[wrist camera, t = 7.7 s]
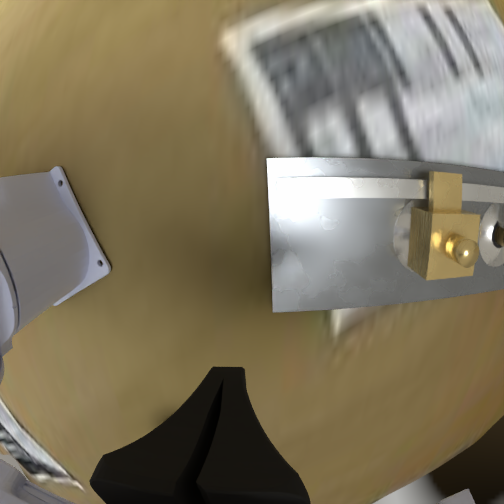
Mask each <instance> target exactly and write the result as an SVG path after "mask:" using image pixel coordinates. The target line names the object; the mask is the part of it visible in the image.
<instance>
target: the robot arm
mask: <svg viewBox="0 0 504 504" xmlns="http://www.w3.org/2000/svg"><path fill="white" fill-rule="evenodd" d="M61 181H63V185H61ZM100 260H101V261H102V262H103V265H101V263H100ZM110 271H111V266H110V264H109V262H108V261H107V259H106V257H105V255H104V254H103V252H102V250H101V248H100V246H99V244H98V242H97V241H96V239H95V237H94V235H93V233H92V231H91V229H90V227H89V225H88V223H87V221H86V219H85V217H84V215H83V213H82V211H81V209H80V207H79V205H78V203H77V201H76V198H75V196H74V194H73V192H72V190H71V187H70V185H69V183H68V181H67V178H66V176H65V174H64V171H63V169H62V167H60V166H55V167H54V168H53V169H52V170H51V171H50V172H41V173H32V174H23V175H15V176H8V177H1V178H0V384H1V382H2V379H3V375H4V362H3V358H2V357H3V356H4V355H5V354H6V353H7V352H8V351H9V350H11V349H12V337H13V335H15V334H16V333H17V332H19V331H20V330H21V329H22V328H24V327H25V326H26V325H27V324H29V323H30V322H31V321H32V320H34V319H35V318H36V317H38V316H39V315H40V314H41V313H43V312H44V311H45V310H47V309H48V308H49V307H51V306H52V305H54V306H57V305H58V304H60V303H61V302H63V301H65V300H66V299H68V298H69V297H71V296H73V295H74V294H76V293H77V292H79V291H81V290H82V289H84V288H86V287H87V286H89V285H91V284H92V283H94V282H96V281H97V280H99V279H101V278H102V277H104V276H106V275H107V274H109V273H110ZM90 485H91V487H92V488H93V490H94V491H95V492H96V493H97V494H98V495H99V496H100V498H101V499H102V500H103V501H104V502H105V503H106V504H310V498H309V495H308V492H307V490H306V488H305V486H304V484H303V482H302V480H301V478H300V477H299V475H298V473H297V472H296V471H295V470H294V469H293V468H292V467H291V466H290V465H289V464H288V463H287V462H286V461H285V459H284V458H283V457H282V456H281V455H280V454H279V452H278V451H277V450H276V448H275V447H274V445H273V444H272V443H271V441H270V440H269V438H268V437H267V435H266V433H265V432H264V430H263V428H262V427H261V425H260V423H259V421H258V419H257V417H256V415H255V412H254V410H253V408H252V405H251V402H250V400H249V396H248V393H247V390H246V379H245V369H244V368H243V367H212V368H211V370H210V371H209V373H208V374H207V375H206V377H205V378H204V380H203V381H202V382H201V384H200V385H199V386H198V387H197V389H196V390H195V391H194V392H193V394H192V395H191V396H190V397H189V398H188V399H187V400H186V402H185V403H184V404H183V405H182V406H181V407H180V408H179V409H178V410H177V411H176V412H175V413H174V414H173V415H172V416H170V417H169V418H168V419H167V420H166V421H165V422H163V423H162V424H161V425H159V426H158V427H157V428H155V429H154V430H153V431H151V432H150V433H148V434H147V435H145V436H144V437H142V438H140V439H138V440H136V441H135V442H133V443H131V444H129V445H127V446H125V447H123V448H120V449H118V450H115V451H113V452H110V453H108V454H105V455H103V456H102V458H101V459H100V461H99V463H98V464H97V466H96V468H95V471H94V473H93V475H92V477H91V479H90ZM0 504H75V503H73V502H71V501H68V500H66V499H64V498H62V497H59V496H57V495H55V494H53V493H51V492H49V491H47V490H45V489H43V488H41V487H39V486H37V485H35V484H34V483H32V482H30V481H28V480H26V478H25V477H24V476H23V474H22V473H21V472H20V471H18V470H17V469H16V468H15V467H13V466H11V465H10V464H8V463H6V462H5V461H3V460H2V459H0ZM437 504H475V503H474V500H473V498H472V496H471V494H470V491H469V489H465V490H463V491H461V492H459V493H457V494H454V495H453V496H450V497H447V498H446V499H443V500H441V501H440V502H438V503H437Z"/></svg>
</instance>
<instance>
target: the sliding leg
mask: <svg viewBox="0 0 504 504" xmlns="http://www.w3.org/2000/svg"><path fill="white" fill-rule="evenodd" d="M461 207H462V174H456V173H446V172H435V171H429V207H411V224H410V240H409V252H408V263H407V266H408V267H409V268H411V269H412V270H413V271H415V272H416V273H417V274H418V275H420V276H421V277H422V278H424V279H425V280H436V279H446V278H456V277H465V276H473V271H474V265H475V263H476V261H477V259H478V256H479V246H478V235H479V224H480V215H479V214H476V213H473V212H469V211H466V210H462V209H461Z"/></svg>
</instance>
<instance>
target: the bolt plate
mask: <svg viewBox="0 0 504 504" xmlns="http://www.w3.org/2000/svg"><path fill="white" fill-rule="evenodd" d="M429 171H435V172H446V173H456V174H462V207H461V209H462V210H466V211H469V212H473V213H476V214H479V215H480V224H479V235H478V246H479V256H478V259H477V261H476V263H475V265H474V271H473V276H465V277H456V278H446V279H436V280H425V279H424V278H422V277H421V276H420V275H418V274H417V273H416V272H415V271H413V270H412V269H411V268H409V267H408V266H407V263H408V252H409V240H410V224H411V207H429ZM267 175H268V197H269V220H270V245H271V273H272V305H273V312H294V311H313V310H329V309H343V308H356V307H368V306H379V305H390V304H399V303H408V302H417V301H426V300H434V299H441V298H449V297H456V296H463V295H470V294H476V293H482V292H488V291H494V290H500V289H504V172H499V171H493V170H487V169H480V168H473V167H466V166H458V165H449V164H440V163H430V162H419V161H406V160H391V159H371V158H331V157H309V158H268V159H267Z"/></svg>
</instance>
